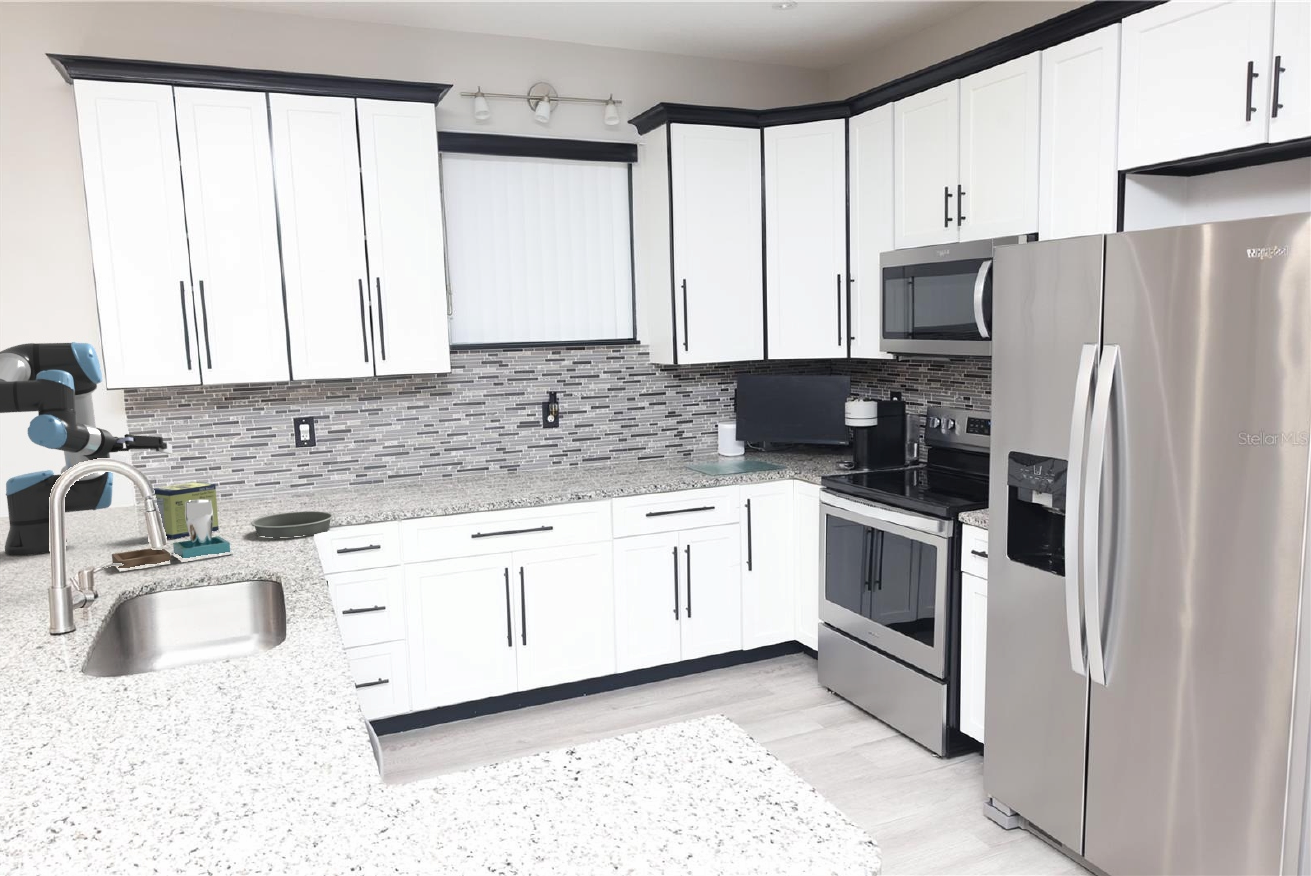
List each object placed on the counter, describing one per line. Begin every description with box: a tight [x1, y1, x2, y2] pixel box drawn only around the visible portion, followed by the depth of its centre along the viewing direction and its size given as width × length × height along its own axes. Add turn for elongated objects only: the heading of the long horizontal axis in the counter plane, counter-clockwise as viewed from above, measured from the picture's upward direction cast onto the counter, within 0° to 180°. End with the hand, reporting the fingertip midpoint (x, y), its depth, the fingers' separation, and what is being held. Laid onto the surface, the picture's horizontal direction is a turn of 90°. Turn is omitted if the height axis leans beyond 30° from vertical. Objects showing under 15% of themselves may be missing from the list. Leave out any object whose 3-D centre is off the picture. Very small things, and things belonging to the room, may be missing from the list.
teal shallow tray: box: [172, 535, 231, 558], centre depth 242 cm, size 13×13×4 cm
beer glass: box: [185, 499, 213, 548], centre depth 242 cm, size 7×7×15 cm
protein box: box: [153, 481, 220, 540], centre depth 273 cm, size 10×16×16 cm
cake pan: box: [250, 510, 334, 539], centre depth 273 cm, size 25×25×4 cm
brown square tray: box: [111, 547, 172, 568], centre depth 233 cm, size 12×12×3 cm
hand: (148, 455), depth 237 cm, fingers open, 13 cm apart
